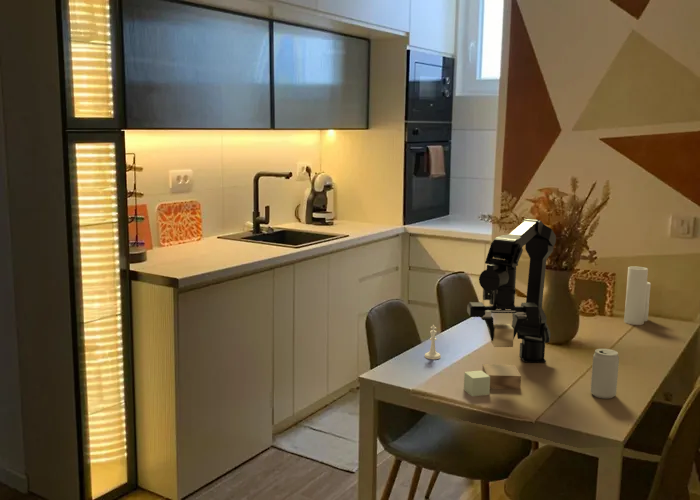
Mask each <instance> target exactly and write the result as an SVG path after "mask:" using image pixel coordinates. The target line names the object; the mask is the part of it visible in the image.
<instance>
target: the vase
mask: <svg viewBox="0 0 700 500" xmlns="http://www.w3.org/2000/svg"><path fill="white" fill-rule="evenodd" d="M648 273H649V268H648V267H643V266H635V265H633V266H628V267H627V279H626V291H625V303H624V304H625V305H624V314H623V315H624V318H623V322H624V323H625V324H629V325H634V326H641V325H644V323H645V322H648V321H649V309H650V308H649V307H650V298H651V297H650V296H651V285H652V284H651V282H649V281H648V276H649V275H648Z"/></svg>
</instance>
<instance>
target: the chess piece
mask: <svg viewBox="0 0 700 500" xmlns="http://www.w3.org/2000/svg"><path fill="white" fill-rule="evenodd" d="M430 329H431V330H430V331H429V333H430V336H431V337H430V338H429V340H430V341H431V342H430V349H429V351H428V352H425V353H424V358H425V359H428V360H439V359H441V357H442V356H441V353H439V352H437V351H436V342H435V341H437V338H436V336H437V327H436V326H435V325H434V324H432V326H430Z"/></svg>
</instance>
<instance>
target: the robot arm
mask: <svg viewBox="0 0 700 500" xmlns="http://www.w3.org/2000/svg"><path fill="white" fill-rule="evenodd" d="M556 242H557V235H556V234H555V232H554V230H553V229H552V228H551V227H550V226H547V225H545V224H544V223H543V222H542V220H540V219H533V218H532V219H531V218H526V219H524V218H523V220H522V222H521V223H520V225H518V226H517V227H516V228H514V229H513V230H512V231H511V232H510V233H508V234H503V235H499V236H495V238H494V239H493V240H492V241H491V244H490V246H489V249H488V253H487V256H486V258H485V262H484V263H485V264H486V269H485V270H483V271H481V273H480V275H479V276H478V282H479V285H480V287H481V289H482V290H483V291H482V299H483V301H489V304H490V305H485V304H484V303H483V302H481V301H479V302H475V301H473V302H472V301H469V303H467V305H466V312H467V314H468V315H469V317H472V318H480V319H481V320H483V321H484V322H485V323H486V326H487V329H488V334H489V337H490V341H491V340H492V341H493V338H494V326H493V324H494V318H493V316H492V315H493V314H512V322H511V326H512V327H513V329H514V337H513V340H514V339H515V337H516V336H517V340H521V342H520V343H519V357H520V359H521V360H522V361H523V362H524V363H546V362H547V360H546V359H545V351H546V350H545V349H546V344H549V343H550V340H551V334H552V332H551V330H550V329H549V325H548V324H547V322H548V319H547V315H546V313H545V311H544V309H543V298H544V289H545V288H544V287H545V280H546V278H545V277H546V268H547V259H548V258H549V257H550V256H551V254H552V253H553V251H554V248H555V247H554V246H555V245H556ZM524 246H525V247H524ZM523 247H524V248H525V251H526V253H527V255H528V257H529V264H528V265H529V267H528V277H527V288H526V297H525V298H526V299H525V302H521V303H520V305H519V306H518V305H515V303H516V302H515V298H516V292H517V290H516V283H517V282H516V280H517V267H518V266H519V261H520V259H521V256H522V254H523V252H524V251H523Z"/></svg>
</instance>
